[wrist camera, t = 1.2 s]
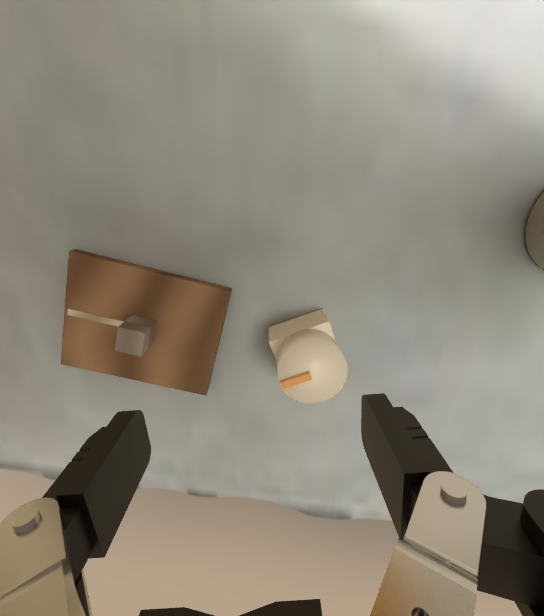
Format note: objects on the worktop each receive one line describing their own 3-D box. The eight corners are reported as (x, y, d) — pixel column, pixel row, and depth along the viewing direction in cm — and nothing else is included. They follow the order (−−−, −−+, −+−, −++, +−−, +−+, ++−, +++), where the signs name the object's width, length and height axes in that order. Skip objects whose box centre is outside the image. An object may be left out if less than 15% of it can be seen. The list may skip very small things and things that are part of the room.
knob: (322, 307, 30) (337, 333, 24) (339, 357, 32) (357, 393, 26) (267, 326, 31) (267, 357, 24) (286, 375, 32) (291, 414, 26)
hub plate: (231, 288, 29) (226, 301, 26) (208, 389, 33) (200, 414, 29) (75, 249, 28) (45, 256, 24) (67, 359, 31) (39, 380, 27)
